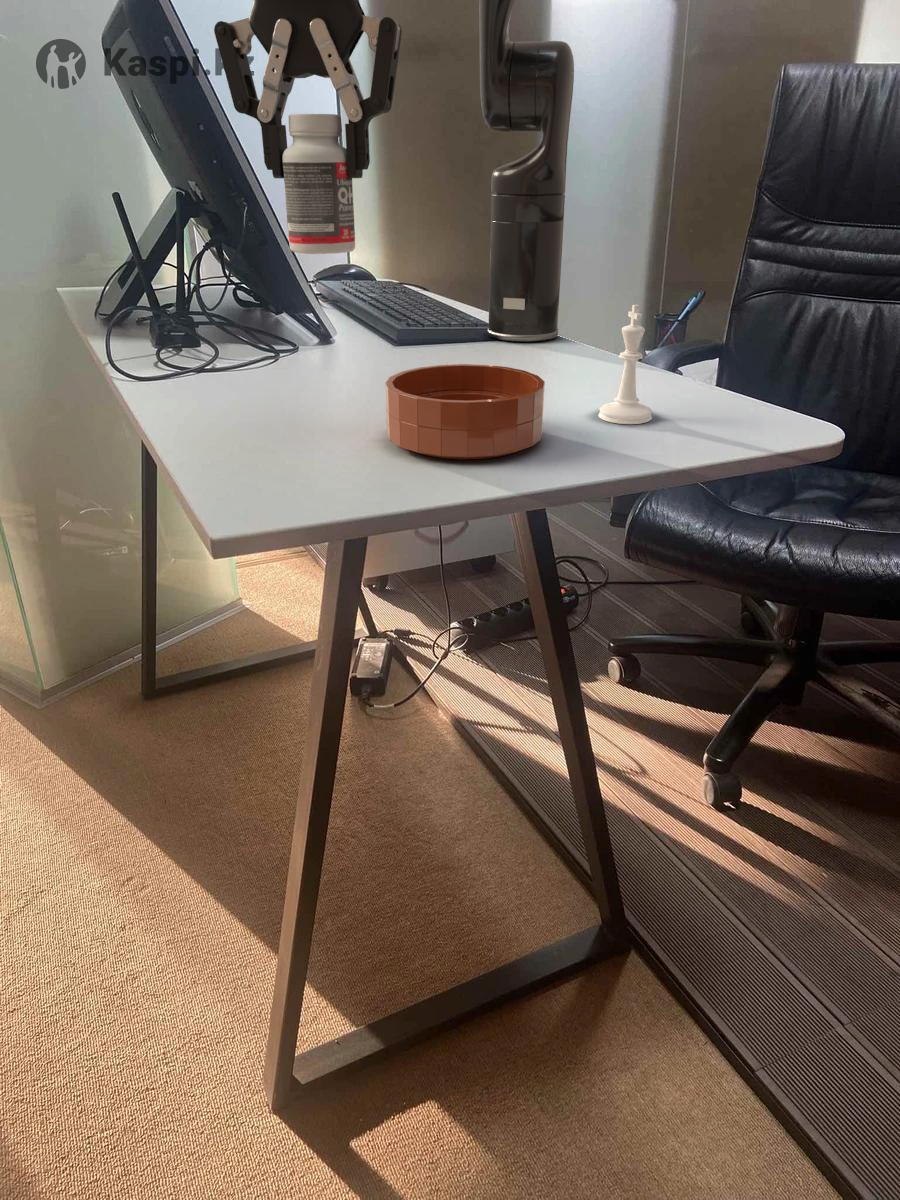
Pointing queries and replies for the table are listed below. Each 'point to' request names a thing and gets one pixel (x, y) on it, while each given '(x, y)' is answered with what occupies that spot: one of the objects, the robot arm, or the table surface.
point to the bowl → (464, 410)
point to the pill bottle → (318, 186)
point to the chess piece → (628, 380)
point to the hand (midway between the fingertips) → (317, 177)
